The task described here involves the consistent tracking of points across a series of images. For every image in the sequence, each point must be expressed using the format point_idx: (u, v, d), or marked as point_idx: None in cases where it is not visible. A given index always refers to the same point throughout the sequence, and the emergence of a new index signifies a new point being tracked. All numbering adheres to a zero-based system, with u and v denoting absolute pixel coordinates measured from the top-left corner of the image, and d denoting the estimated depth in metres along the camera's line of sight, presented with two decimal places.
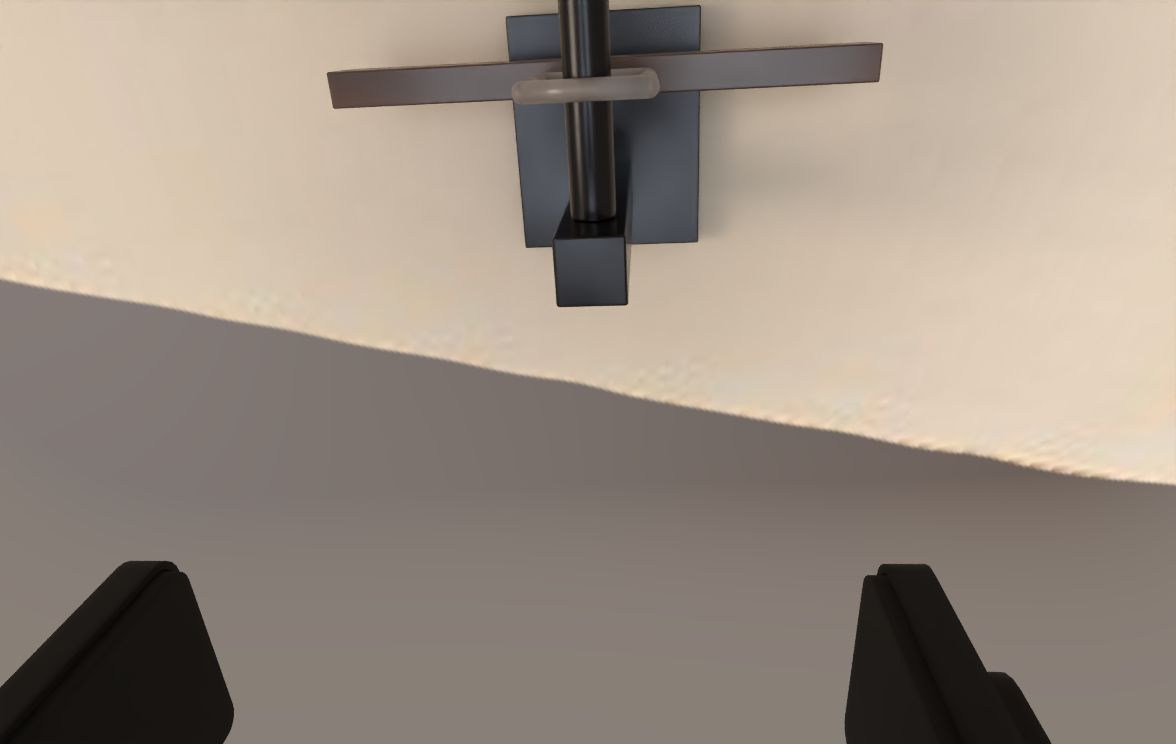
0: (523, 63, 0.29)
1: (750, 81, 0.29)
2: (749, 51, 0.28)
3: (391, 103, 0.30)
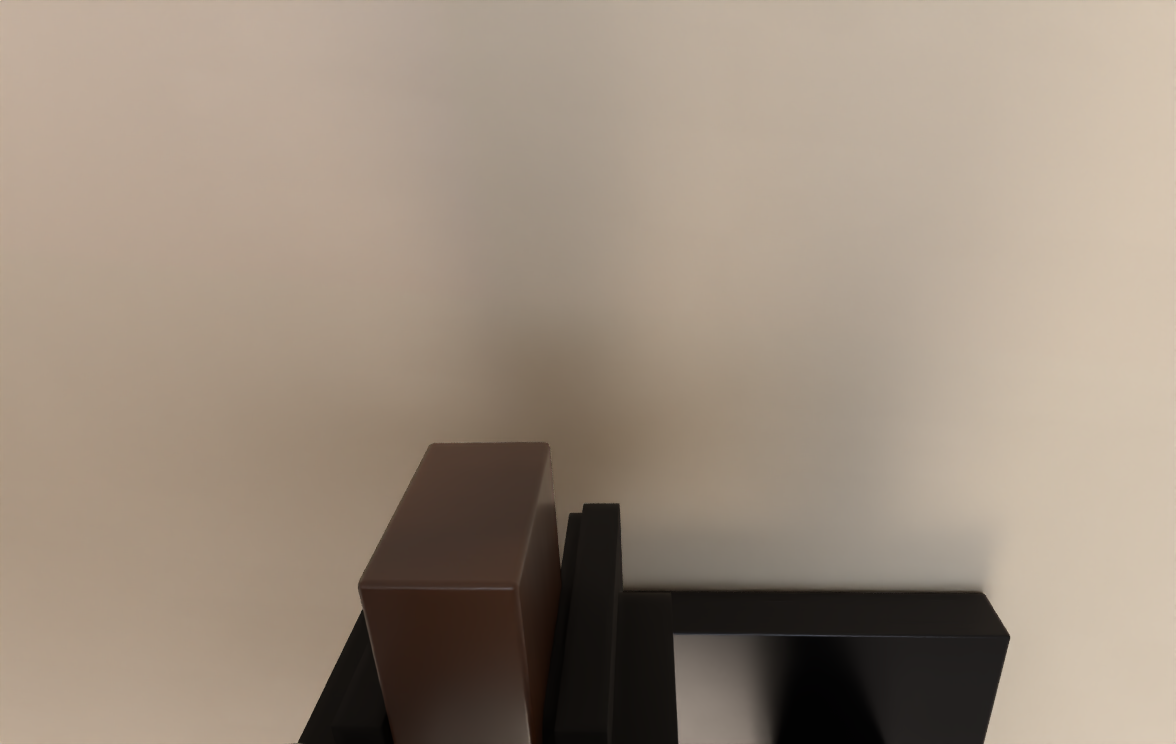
0: None
1: None
2: None
3: None
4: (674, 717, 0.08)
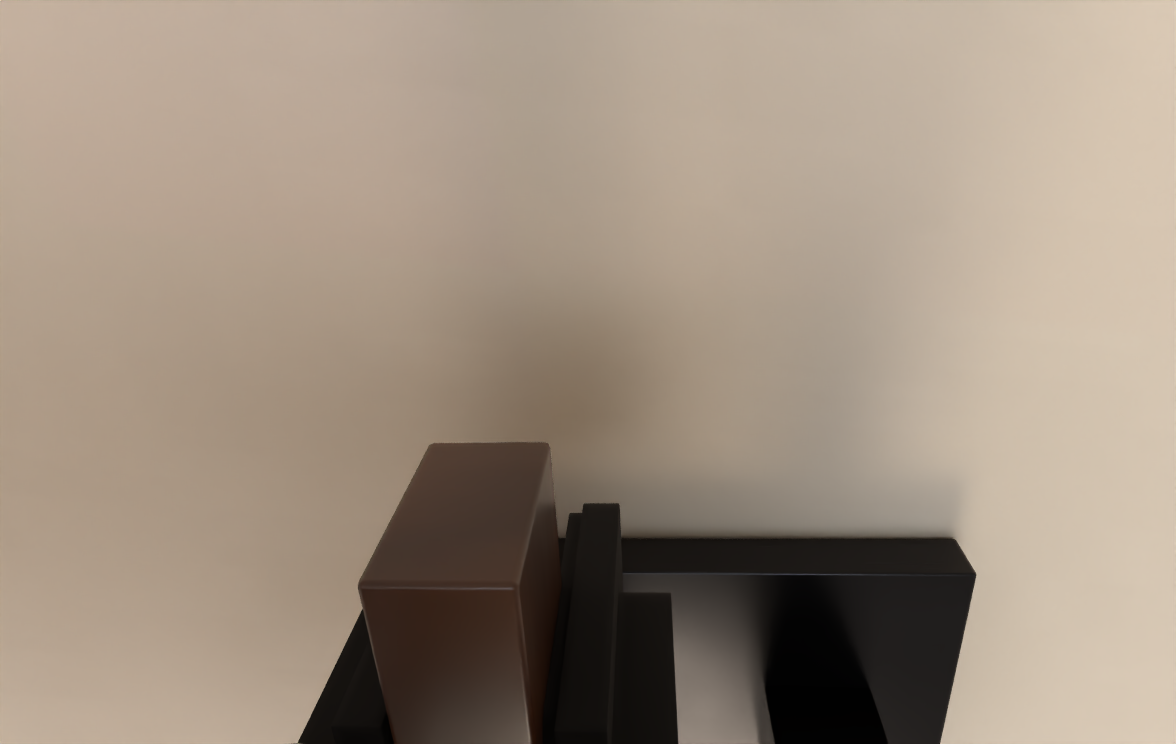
0: None
1: None
2: None
3: None
4: (674, 717, 0.08)
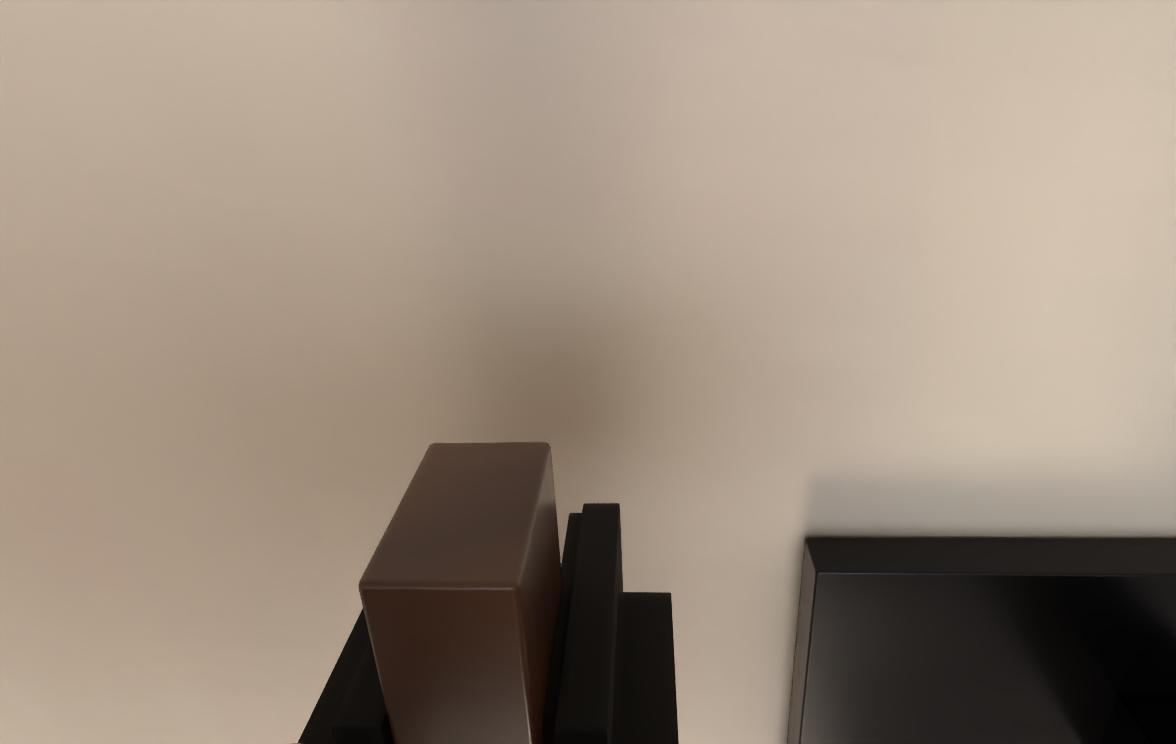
0: None
1: None
2: None
3: None
4: (674, 717, 0.08)
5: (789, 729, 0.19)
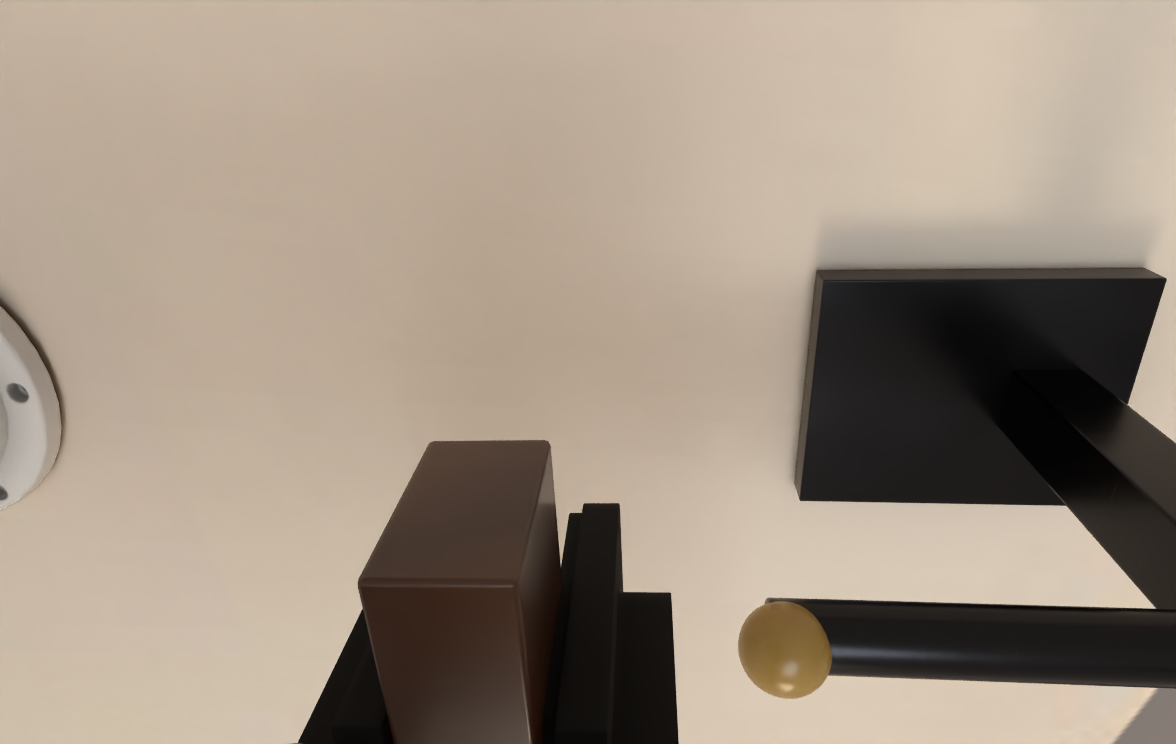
0: None
1: None
2: None
3: None
4: (674, 717, 0.08)
5: (801, 420, 0.28)
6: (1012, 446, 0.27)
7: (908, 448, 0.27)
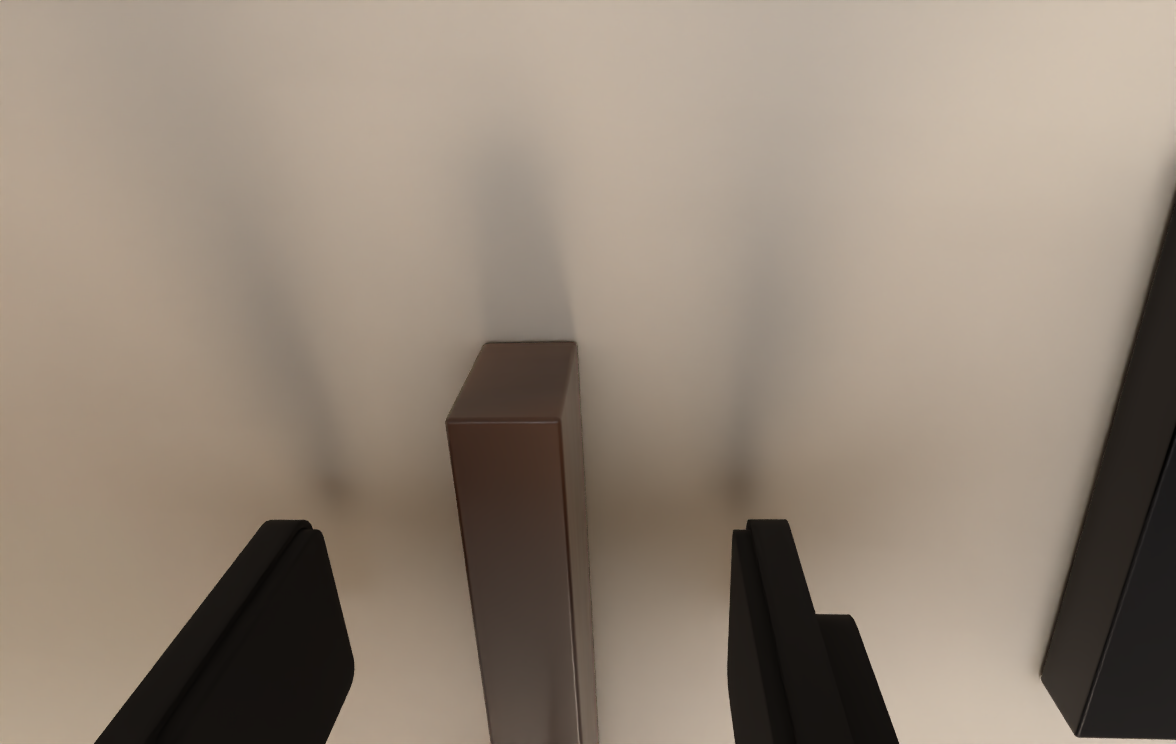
0: None
1: (563, 720, 0.11)
2: (490, 719, 0.11)
3: None
4: None
5: (1085, 545, 0.11)
6: None
7: None
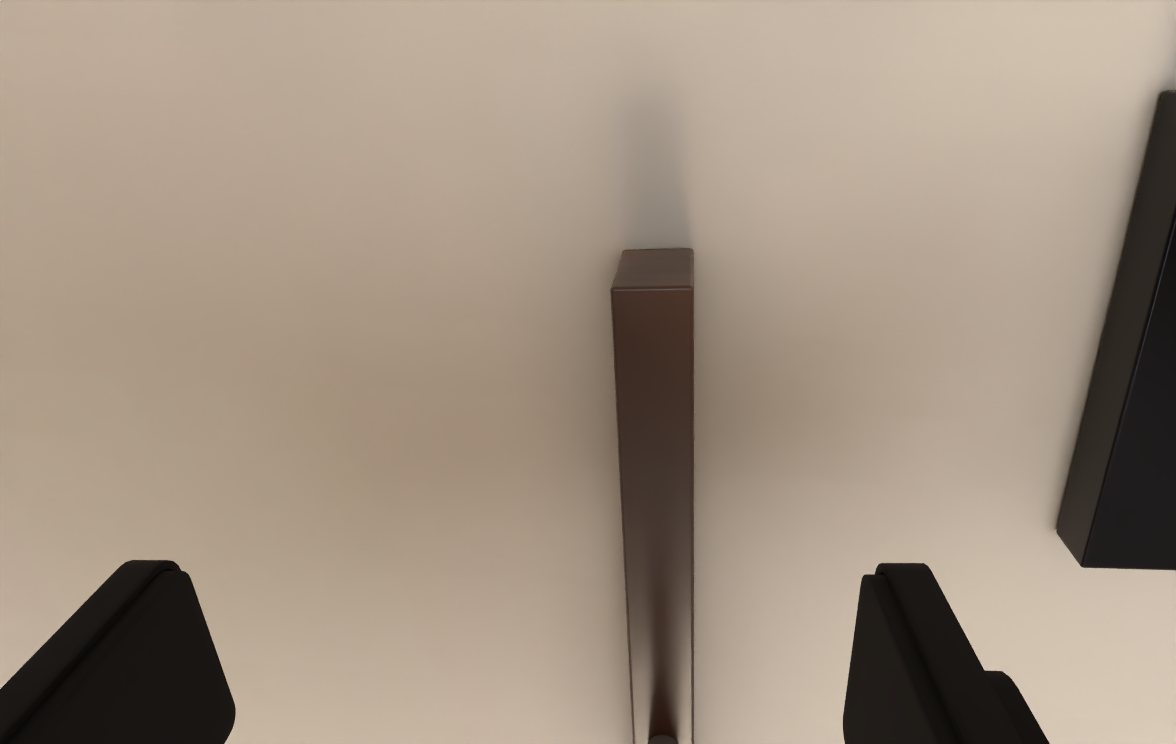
0: None
1: (680, 529, 0.14)
2: (625, 530, 0.15)
3: None
4: None
5: (1089, 412, 0.15)
6: None
7: None
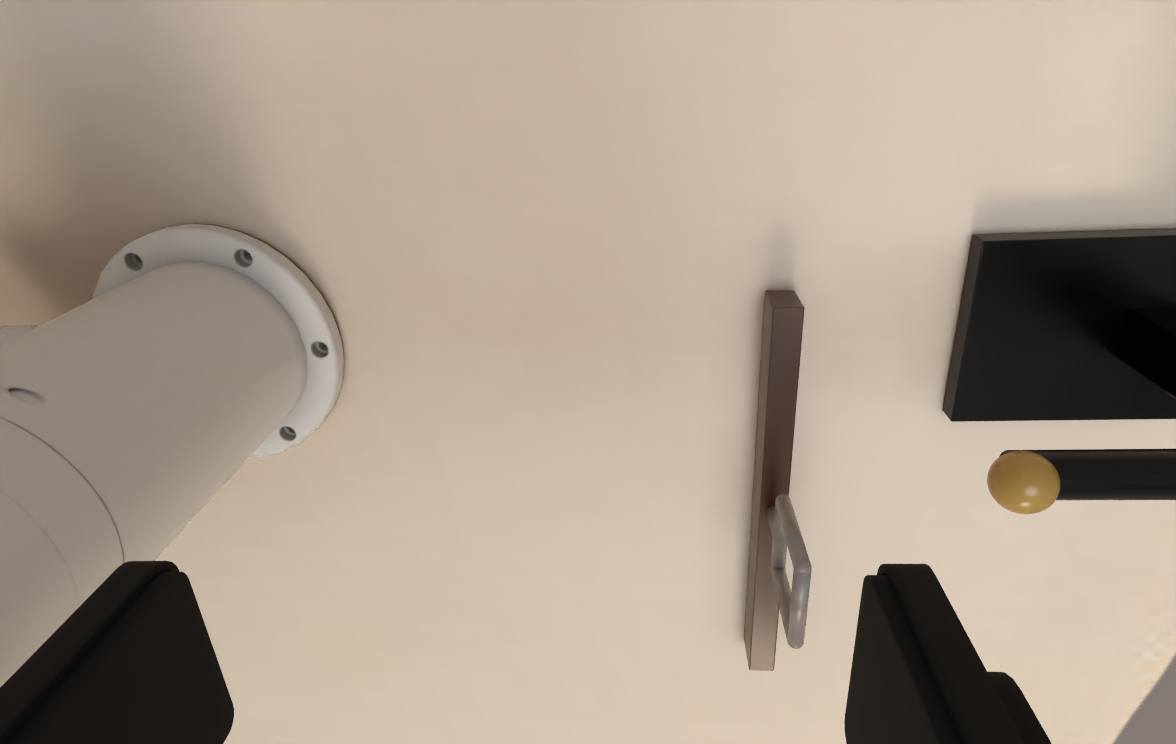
0: (757, 557, 0.39)
1: (790, 406, 0.35)
2: (767, 407, 0.35)
3: (774, 637, 0.41)
4: None
5: (952, 356, 0.36)
6: (1125, 371, 0.34)
7: (1041, 375, 0.35)
